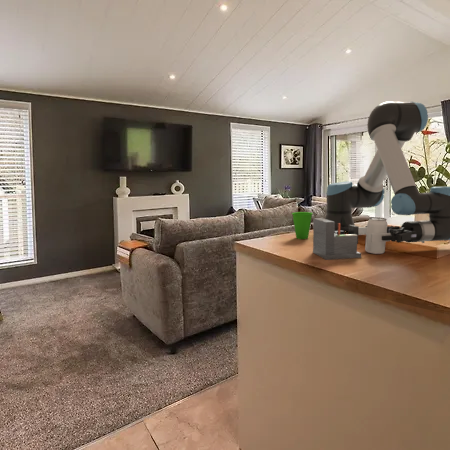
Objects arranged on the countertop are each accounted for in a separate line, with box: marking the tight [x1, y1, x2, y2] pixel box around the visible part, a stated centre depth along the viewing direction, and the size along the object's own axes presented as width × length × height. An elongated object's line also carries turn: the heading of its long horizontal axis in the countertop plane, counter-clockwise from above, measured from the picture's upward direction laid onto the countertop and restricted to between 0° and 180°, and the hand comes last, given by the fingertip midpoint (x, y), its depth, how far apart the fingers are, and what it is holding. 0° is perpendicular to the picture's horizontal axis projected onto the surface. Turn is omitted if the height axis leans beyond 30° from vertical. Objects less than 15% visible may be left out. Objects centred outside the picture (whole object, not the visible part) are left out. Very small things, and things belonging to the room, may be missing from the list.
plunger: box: [335, 223, 360, 245], centre depth 121 cm, size 9×6×8 cm, turn 98°
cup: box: [291, 211, 313, 240], centre depth 154 cm, size 9×9×11 cm
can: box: [364, 216, 388, 255], centre depth 123 cm, size 6×6×12 cm
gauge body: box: [312, 217, 362, 261], centre depth 121 cm, size 12×11×12 cm
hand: (360, 234), depth 122 cm, fingers open, 13 cm apart
